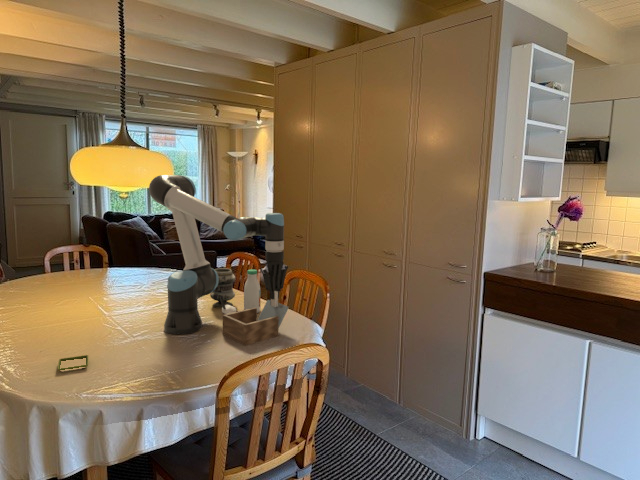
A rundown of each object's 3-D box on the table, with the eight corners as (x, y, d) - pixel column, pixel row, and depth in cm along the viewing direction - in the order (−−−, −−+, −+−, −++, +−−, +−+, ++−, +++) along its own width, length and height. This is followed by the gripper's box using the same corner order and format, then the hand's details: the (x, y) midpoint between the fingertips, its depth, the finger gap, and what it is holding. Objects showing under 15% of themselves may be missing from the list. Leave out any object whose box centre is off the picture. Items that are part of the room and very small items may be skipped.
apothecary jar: (227, 310, 209) (226, 273, 206) (205, 307, 213) (204, 271, 210) (239, 303, 220) (239, 268, 218) (218, 301, 224) (218, 266, 221)
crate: (245, 345, 166) (245, 325, 165) (222, 334, 178) (222, 315, 177) (278, 335, 177) (278, 316, 176) (255, 325, 189) (255, 307, 188)
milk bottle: (257, 314, 204) (257, 272, 201) (241, 313, 205) (241, 271, 202) (262, 309, 211) (262, 269, 208) (247, 308, 213) (247, 268, 210)
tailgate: (275, 328, 178) (286, 305, 181) (256, 320, 187) (267, 299, 190) (278, 329, 179) (289, 307, 182) (259, 321, 188) (269, 300, 191)
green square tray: (88, 360, 151) (88, 354, 151) (88, 370, 143) (88, 364, 143) (59, 364, 147) (59, 358, 147) (57, 375, 139) (57, 369, 139)
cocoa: (236, 317, 200) (237, 291, 199) (240, 321, 195) (241, 294, 194) (215, 318, 196) (216, 292, 195) (218, 322, 191) (219, 295, 190)
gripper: (267, 253, 174) (267, 311, 177) (292, 250, 183) (292, 305, 186) (256, 251, 179) (256, 307, 183) (281, 248, 188) (280, 301, 192)
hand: (274, 306), depth 184 cm, fingers closed
